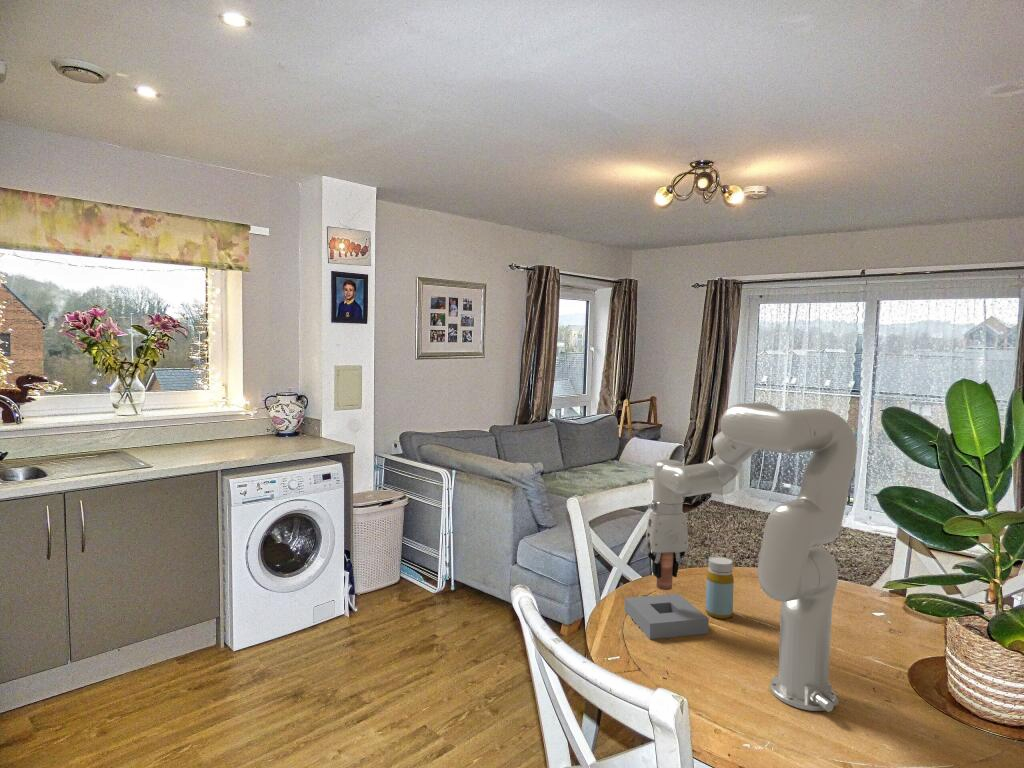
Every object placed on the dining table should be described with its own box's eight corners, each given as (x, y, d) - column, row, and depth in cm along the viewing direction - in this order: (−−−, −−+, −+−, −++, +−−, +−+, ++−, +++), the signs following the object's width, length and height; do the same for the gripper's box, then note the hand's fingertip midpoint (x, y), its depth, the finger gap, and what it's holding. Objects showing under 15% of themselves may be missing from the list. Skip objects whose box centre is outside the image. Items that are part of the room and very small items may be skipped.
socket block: (708, 633, 156) (708, 618, 156) (649, 639, 153) (650, 623, 153) (678, 607, 172) (678, 593, 172) (624, 612, 168) (624, 598, 168)
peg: (674, 589, 161) (676, 544, 160) (660, 590, 160) (662, 545, 159) (667, 583, 165) (669, 539, 164) (653, 584, 164) (655, 540, 163)
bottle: (736, 620, 164) (737, 565, 164) (709, 619, 165) (711, 564, 164) (727, 609, 171) (729, 556, 170) (702, 608, 171) (703, 555, 171)
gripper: (643, 512, 155) (641, 583, 157) (704, 510, 159) (701, 579, 160) (631, 504, 162) (629, 572, 164) (689, 502, 166) (686, 568, 167)
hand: (664, 575), depth 162 cm, fingers closed on peg, 4 cm apart
